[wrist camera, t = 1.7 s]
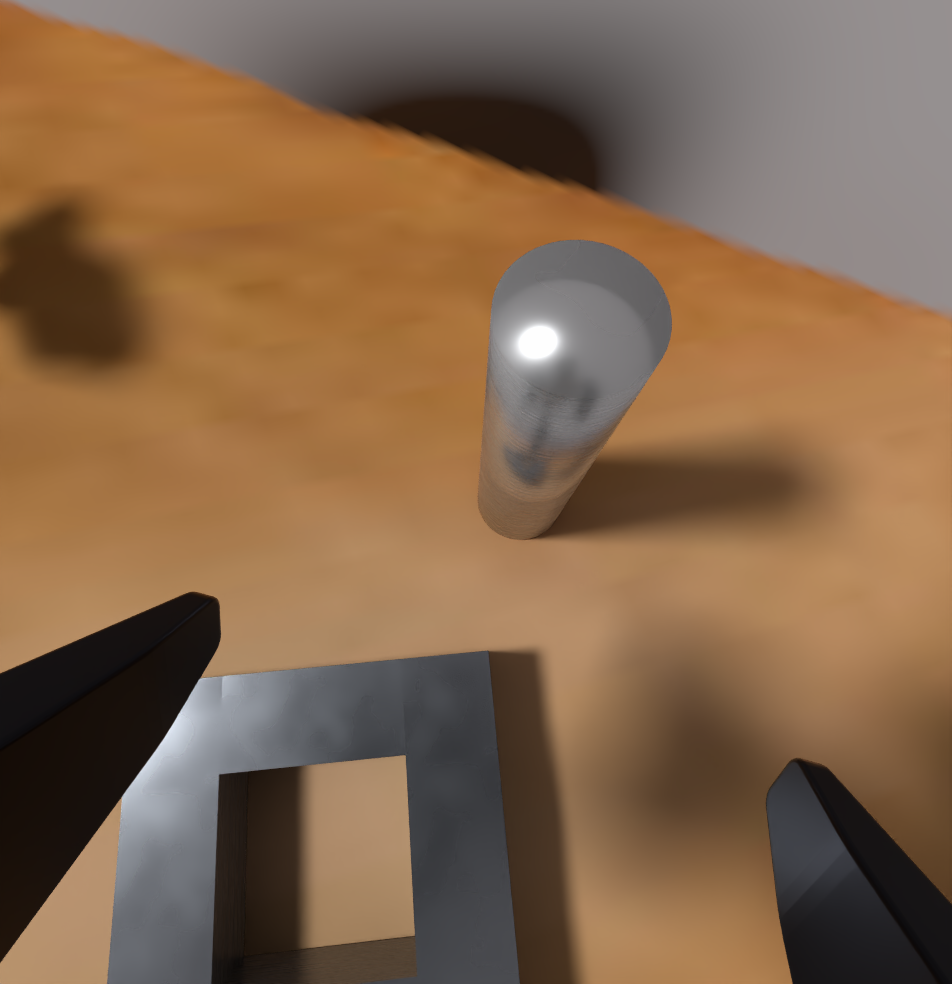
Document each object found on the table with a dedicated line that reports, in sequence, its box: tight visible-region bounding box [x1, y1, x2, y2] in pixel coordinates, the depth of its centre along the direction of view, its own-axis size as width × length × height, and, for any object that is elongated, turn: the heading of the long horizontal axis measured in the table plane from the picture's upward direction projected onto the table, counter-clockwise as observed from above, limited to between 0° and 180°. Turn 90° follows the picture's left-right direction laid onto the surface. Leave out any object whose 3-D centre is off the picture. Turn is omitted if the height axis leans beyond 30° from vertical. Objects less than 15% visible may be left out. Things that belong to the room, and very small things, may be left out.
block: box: [107, 651, 520, 984], centre depth 18 cm, size 12×12×2 cm
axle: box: [478, 240, 672, 540], centre depth 17 cm, size 4×4×13 cm
